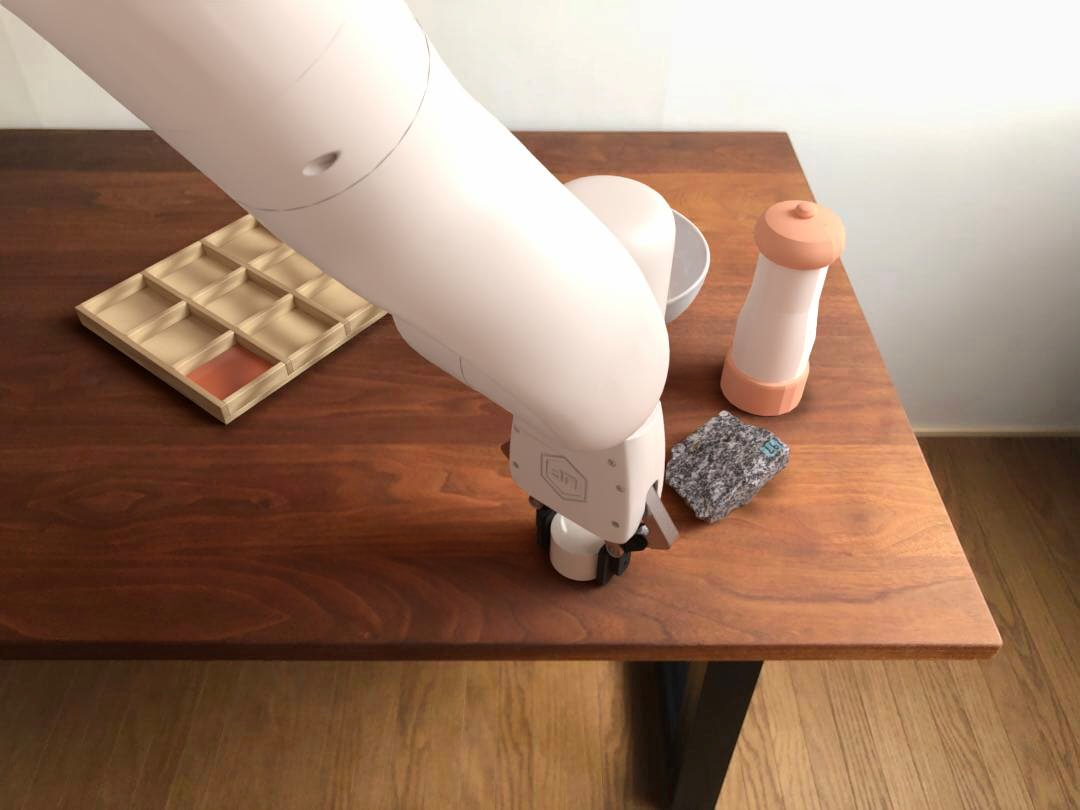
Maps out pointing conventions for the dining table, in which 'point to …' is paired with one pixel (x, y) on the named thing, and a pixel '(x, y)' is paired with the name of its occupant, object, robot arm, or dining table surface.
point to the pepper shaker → (781, 307)
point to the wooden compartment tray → (229, 317)
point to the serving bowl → (686, 267)
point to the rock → (724, 465)
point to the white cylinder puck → (573, 549)
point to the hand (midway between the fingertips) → (581, 551)
